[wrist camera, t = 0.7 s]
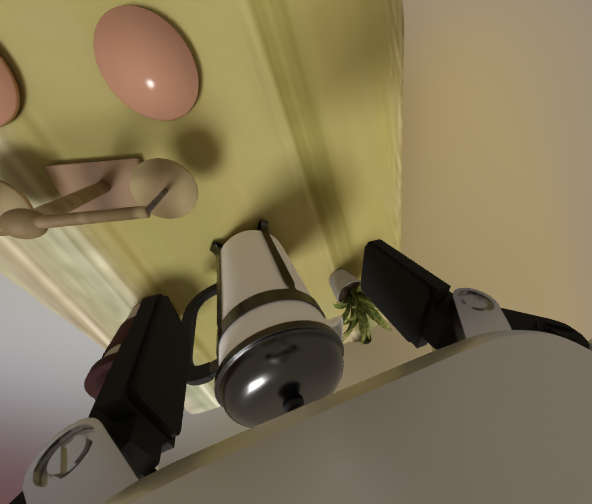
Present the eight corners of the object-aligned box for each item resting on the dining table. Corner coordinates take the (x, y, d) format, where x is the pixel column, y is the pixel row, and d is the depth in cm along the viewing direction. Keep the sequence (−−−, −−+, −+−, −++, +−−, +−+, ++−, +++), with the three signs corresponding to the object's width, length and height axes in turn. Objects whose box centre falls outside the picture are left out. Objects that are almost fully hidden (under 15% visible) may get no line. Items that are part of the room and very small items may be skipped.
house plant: (305, 260, 46) (342, 313, 32) (360, 241, 48) (416, 283, 35) (313, 305, 53) (346, 363, 40) (360, 287, 56) (406, 336, 42)
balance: (194, 150, 30) (174, 165, 16) (207, 196, 33) (200, 241, 19) (-30, 169, 24) (-377, 219, 10) (13, 222, 27) (-202, 316, 13)
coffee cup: (143, 284, 37) (106, 361, 24) (193, 307, 42) (184, 378, 30) (110, 321, 38) (58, 411, 26) (163, 338, 44) (142, 419, 31)
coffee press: (220, 201, 34) (229, 375, 10) (300, 233, 42) (419, 376, 17) (188, 284, 40) (139, 536, 15) (264, 299, 47) (316, 482, 22)
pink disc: (78, 8, 21) (71, 1, 20) (184, 14, 24) (182, 8, 23) (125, 123, 26) (121, 122, 25) (208, 118, 29) (208, 118, 28)
